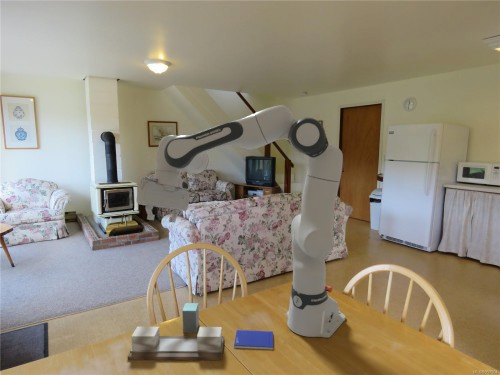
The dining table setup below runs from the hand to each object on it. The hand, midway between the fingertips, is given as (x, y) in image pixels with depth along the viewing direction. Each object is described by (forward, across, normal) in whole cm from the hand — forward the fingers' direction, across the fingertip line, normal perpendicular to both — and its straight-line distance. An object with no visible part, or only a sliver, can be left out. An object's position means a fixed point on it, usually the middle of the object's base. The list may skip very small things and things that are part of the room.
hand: (161, 221), depth 107 cm
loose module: (+36, +14, -6) cm, 39 cm away
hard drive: (+37, +21, -28) cm, 51 cm away
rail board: (+39, +4, -10) cm, 41 cm away
